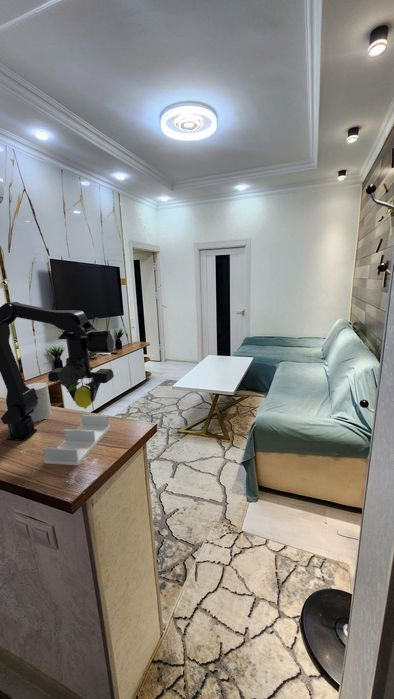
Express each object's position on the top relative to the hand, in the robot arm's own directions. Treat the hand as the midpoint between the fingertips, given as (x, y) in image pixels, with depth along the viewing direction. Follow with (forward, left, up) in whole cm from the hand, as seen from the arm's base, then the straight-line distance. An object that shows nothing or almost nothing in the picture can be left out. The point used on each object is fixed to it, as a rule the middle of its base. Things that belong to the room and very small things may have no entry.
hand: (84, 401), depth 92 cm
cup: (-25, +11, -12) cm, 30 cm away
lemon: (0, 0, -3) cm, 3 cm away
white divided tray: (0, -5, -12) cm, 13 cm away
